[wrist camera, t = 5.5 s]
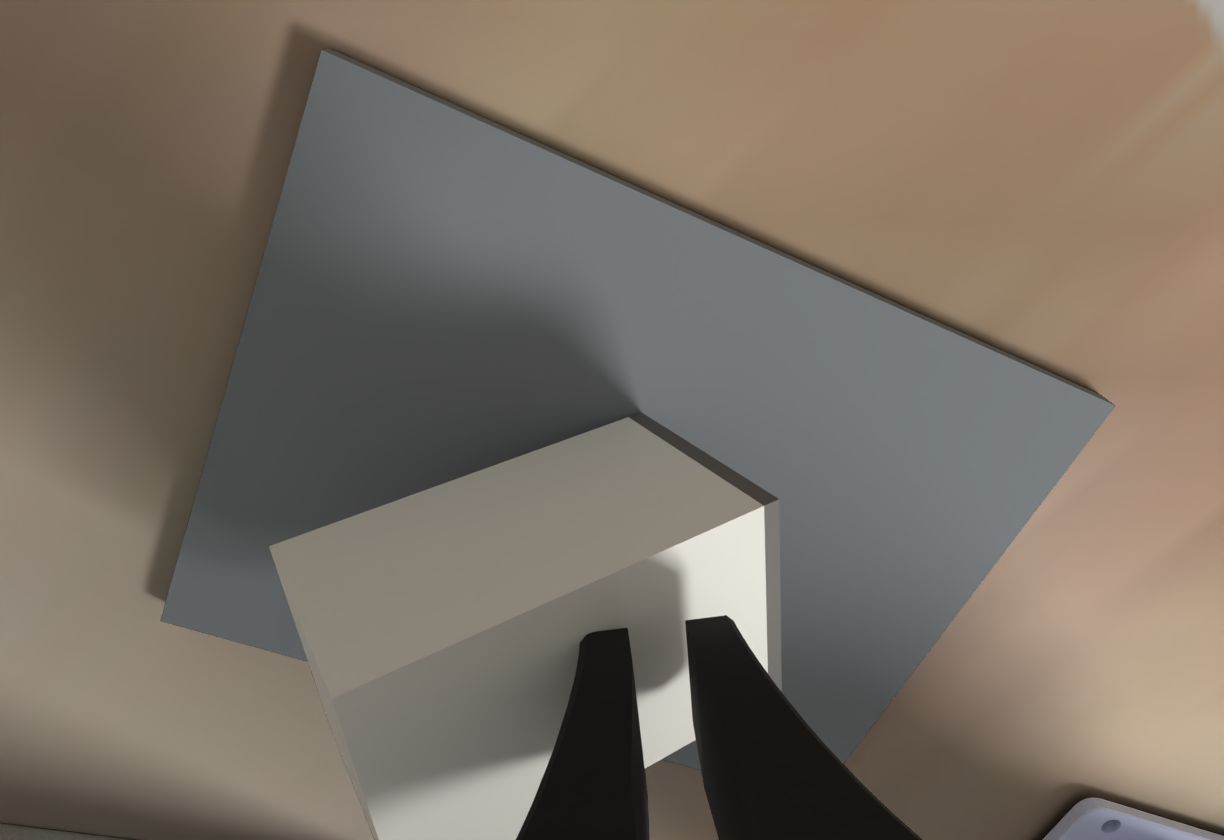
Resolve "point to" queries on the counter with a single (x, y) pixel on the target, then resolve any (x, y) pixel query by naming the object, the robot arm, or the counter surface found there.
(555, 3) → the counter surface
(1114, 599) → the counter surface
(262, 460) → the rubber mat
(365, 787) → the cream block
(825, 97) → the counter surface
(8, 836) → the gray chamfered slab
